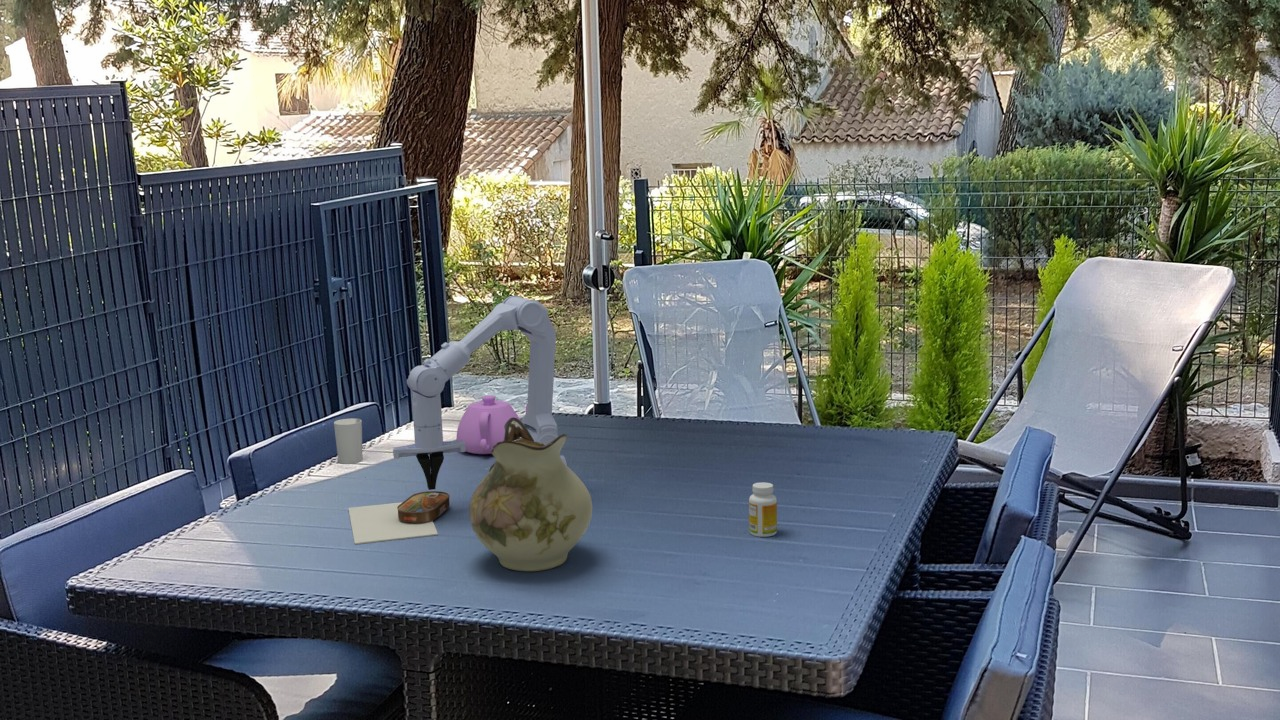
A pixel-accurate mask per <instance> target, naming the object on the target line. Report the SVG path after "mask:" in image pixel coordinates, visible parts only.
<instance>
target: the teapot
mask: <svg viewBox="0 0 1280 720" xmlns="http://www.w3.org/2000/svg"><path fill="white" fill-rule="evenodd" d="M526 413H527V404H526V406H525V414H526ZM525 414H524V415H525ZM512 417H514V418H517V419H519V420H520V421H521V422H522V420H521V418H520V417H519V415H518V413H517V412H516V411H515V409H514V408H513V406H512V405H511V404H510V403H509V402H507V401H503V400H497V399H496V395H491V394H490V395H489V394H488V395H483V396H482V397H481V400H480V401H475V402H472V403H471V404H469V405H468V406H467V408H466V409H465V411H464V413H463V415H462V417H461V419H460V421H459V424H458V427H457V430H456V441H464V442H465V450H466V452H467V453H469V454H470V453H471V454H474V455H492V453H491V450H492V449H493V446H494V445H496V444H497V443H498V442H502V441H504V436H505V428H504V426H505V424H506V422H507V421H508V420H509V419H510V418H512Z"/></svg>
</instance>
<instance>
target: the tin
mask: <svg viewBox="0 0 1280 720" xmlns="http://www.w3.org/2000/svg"><path fill="white" fill-rule="evenodd" d="M402 502H403V503H401V504H400V505H399V506H398V507H397V509H398V518H399V520H400V521H402V522H415V523H425V522H430V521H434V520H436V519H437V518H439V517H440V516H441V515H442V514H443V513H445V512H446V511H447V510H448V509H449V508H450V494H449V493H448V492H444V491H439V490H438V491H437V490H427V491H421V492H418V493H414V494H412V495H410V496H409V497H408V498H406V499H405V500H404V501H402Z"/></svg>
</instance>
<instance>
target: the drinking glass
mask: <svg viewBox="0 0 1280 720" xmlns="http://www.w3.org/2000/svg"><path fill="white" fill-rule="evenodd" d="M333 426H334V427H333V428H334V436H335V445H336V454H337V460H338V461H337V462H338V463H339V464H341V465H352V464H353V465H354V464H358V463H360V462H362V461H363V421H362V419H360V418H352V417H351V418H342V419H338V420H334V422H333Z"/></svg>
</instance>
